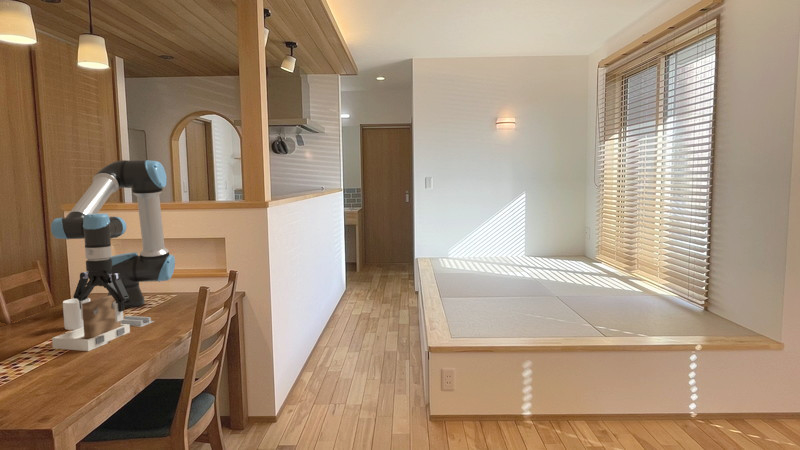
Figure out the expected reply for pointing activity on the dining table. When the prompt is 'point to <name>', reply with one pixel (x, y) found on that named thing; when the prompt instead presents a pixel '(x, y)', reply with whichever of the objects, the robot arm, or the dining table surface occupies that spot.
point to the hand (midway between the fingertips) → (102, 319)
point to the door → (99, 317)
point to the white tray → (77, 341)
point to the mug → (72, 314)
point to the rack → (136, 321)
